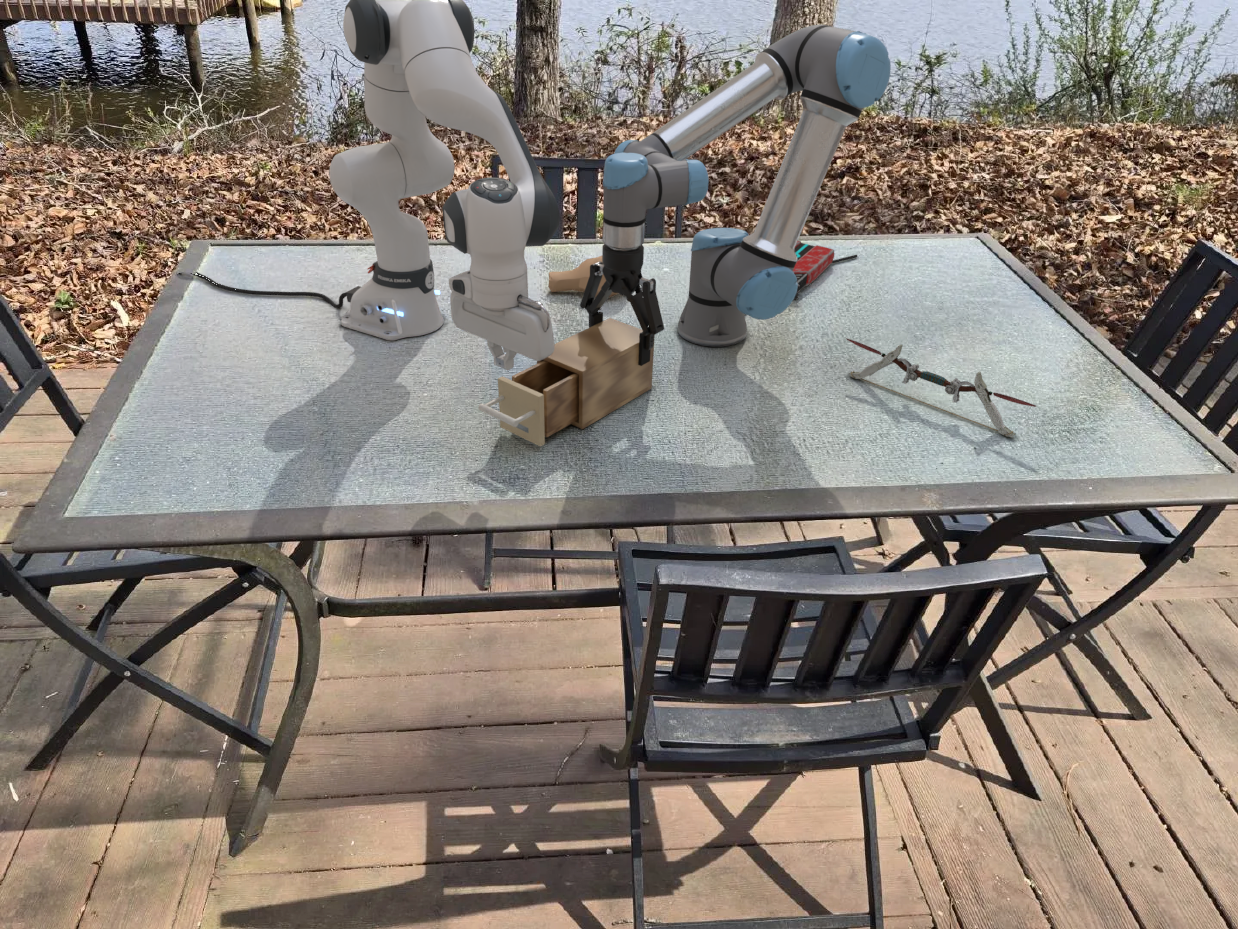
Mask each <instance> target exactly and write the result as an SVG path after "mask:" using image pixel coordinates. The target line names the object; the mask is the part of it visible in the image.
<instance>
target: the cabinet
mask: <svg viewBox="0 0 1238 929" xmlns="http://www.w3.org/2000/svg"><path fill="white" fill-rule="evenodd" d="M642 332H643V330H642V328H639V327H637V326H634V325H631V324H628V323H625V322H622V321H619V320H617V319H614V318H611V317H609V318H607V319H605V320H604V319H603V321H602V322H600V323H598V324H596V325H594V326H592V327H590V328H589V327H588V328H586V329H583V330H581V331H580V332H577V333H575V334H573V335H571V336H569V337H566V338H565V339H563V340H560V341H558V342H556V343H554V352H553V353H552V354H551V355H550V356H549V357H547V358H545V359H543V360H540V361H536V364H538V363H540V362H542V361H544V360H545V361H547V362H550V363H552V364H555V365H557V366H559V367H562V368H564V369H567V370H569V371H571V372H574V373H576V374H579V419H578V420H577V421H575V422H573V423H571V424H570V425H571V426H574V427H577V428H578V429H580V430H584V429H585V428H587V427H589V426H590V425H593V424H594V423H596V422H597V421H599V420H601V419H602V418H604V417H607V416H608V415H609V414H611V413H613V412H614V411H616V410H618V409H620V408H621V407H623V406H624V405H626V404H628V403H630V402H631V401H634V400H635V399H636V398H639V397H640V396H642V395H643V394H645V393H646V392H648V391H650V390H651V389H652V388H653V375H654V374H653V372H654V354H655V345H654V346H653V348H652V349H651V351H650V361H649V362H648V363H646V364H644V365H642V366H640V365H638V360H639V335H640V333H642ZM655 335H656V334H655ZM655 335H654V339H655V338H656V337H655Z"/></svg>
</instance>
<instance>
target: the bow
mask: <svg viewBox="0 0 1238 929" xmlns="http://www.w3.org/2000/svg"><path fill="white" fill-rule="evenodd" d="M845 340H846V341H847V342H850V343H852V344H853V345H855V346H857V347H859V348H860V349H861V348H862V349H864V350H866V351H869V352H871V353H874V354H876V355H880V357H881V358H882V359H881V360H878V361H876V362H873V363H872V364H870V365H868V366H866V367H865V368H864V369H862V370H861V371H855V370H853V371H850V372H848V374H847V375H848V376H849V377H851V378H853V379H855V380H861V381H864V382H867V383H869V384H872V385H874V386H877V387H880V388H882V389H886V390H887V391H890V392H893V393H896V394H898V395H901V396H904V397H906V398H909V399H912V400H914V401H916V402H919V403H922V404H924V405H927V406H929V407H933V408H936V409H937V410H941V411H943V412H946V413H948V414H951V415H954V416H956V417H959V418H962V419H964V420H967V421H969V422H971V423H974V424H977V425H980V426H982V427H985V428H988V429H991V430H992V431H995V432H998V433H999V434H1001V435H1003V436H1005V437H1007V438H1014V436H1015V435H1016V433H1015V432H1014V431H1013V430H1011V429H1010V428H1009V427H1007V426H1006V425H1005V424H1004V420H1003V418H1002V415H1001V413H1000V411H999V409H998V408H997V406H996V405H995V403H994V402H993V401H992V399H991V396H992V395H993V396H994V397H996V398H999V399H1002V400H1005V401H1008V402H1011V403H1015V404H1019V405H1022V406H1028V407H1033V408H1034V407H1035V408H1036V407H1037V404H1033V403H1030V402H1027V401H1026V400H1025V401H1024V400H1022V399H1020V398H1016V397H1013V396H1010V395H1006V394H1003V393H1000V392H999V393H998V392H993V391H991V390H990V391H989V389H988V386H987V384H986V382H985V381H984V379H983V375H982V371H977V372H976V373H975V377H974V382H973V383H972V382H970V381H968V380H964V381H961V380H960V379H958V378H957V377H954V379H953V380H951V381H949V380H947V378H946V377H944V376H942V375H939V374H937V373H933V372H930V371H927V370H926V371H925V370H922V371H921V370H919V368H920V365H919V364H918V363H917V364H912V363H911V362H910V361H909V360H908V359H906V358H902V357H899V356H900V355H901V354H902V349H903V344H898V345H897V347H896V348H895V349H894V350H891V351H889V352H888V353H887V354H886V353H884V352H881V351H880V350H877V349H876V348H873V347H871V346H869V345H867V344H864V343H861V342H859V341H856V340H853V339H850V338H846V337H845ZM898 357H899V358H898ZM892 364H893V365H894V364H896V366H897V367H898V368H900V369H901V370H902V371H903V372H905V375H904V377H903V380H902V381H901V383H902V384H904V385H907V384H908V383H909V382H910V381H912V382H916V381H917V380H918V379H922V380H923V381H926V382H929V383H932V384H935V385H937V386H940V387H945V388H944V391H945V393H946V394H947V395H951V396H952V395H953V396H952V403H955V404H957V403H958V402H960V392H961V393H968V392H969V393H970V392H971V393H972V392H974V393H975V394H976V395H977V397H978V399H979V400H980V402H981V404H982V405H983V407H984V409H985V412H986V414H987V416H988V417H989V419H990V422H991V423H992V425H993V426H994V428H993V427H990V426H988V425H985V424H982V423H981V422H977V421H975V420H972V419H969V418H967V417H964V416H962V415H959V414H956V413H954V412H951V411H948V410H945V409H943V408H940V407H939V406H935V405H933V404H930V403H927V402H924V401H922V400H920V399H916V398H914V397H911V396H909V395H906V394H904V393H902V392H898V391H896V390H893V389H890V388H888V387H885V386H882V385H880V384H877V383H875V382H872V381H870V380H867V379H865V378H867V377H871V376H872V375H874V374H875V373H877V372H878V371H880V370H882V369H884V368H886V367H888V366H890V365H892Z"/></svg>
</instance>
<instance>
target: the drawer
mask: <svg viewBox="0 0 1238 929" xmlns="http://www.w3.org/2000/svg"><path fill="white" fill-rule="evenodd" d="M497 390H498V391H497V392H498V397H496V398H494V399H492V400H490V401H488V402H486V403H483V402H482V403H479V404H478V407H477V409H478V410H479V411H481V412H482V413H485V414H486V415H488V416H490V417H493V418H494V419H497V420H499V427H500V428H501V429H503V430H505V431H507V432H509V433H511V434H513V435H516V436H517V437H519V438H522V439H524V440H526V441H528V442H530V443H532V444H534V445H536V446H538V447H539V448H540V447H542V446H544V445H546V438H549V437H550V436H552V435H554V434H556V433H558V432H559V431H561V430H563V429H565V428H567V427H568V426H570V425H572V424H571V423H573V422H575V421H577V420H578V419H579V374H576V373H574V372H571V371H569V370H567V369H564V368H562V367H559V366H557V365H555V364H552V363H550V362H547V361H545V360H544V361H542V362H540V363H538V364H537V363H536V364H533V365H532V366H530V367H528V368H525V369H524V370H521V371H519V372H516V373H515V374H513V375H511V379H510V378H507V377H505V376H500V377H498V378H497ZM496 404H498V410H497V409H495V408H494V407H493V408H492V406H494V405H496Z"/></svg>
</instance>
